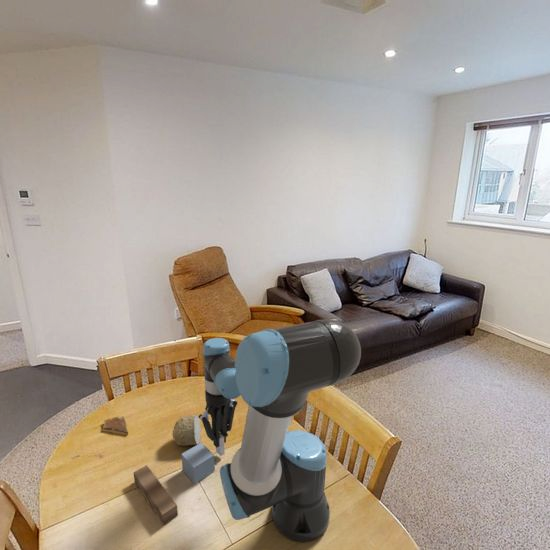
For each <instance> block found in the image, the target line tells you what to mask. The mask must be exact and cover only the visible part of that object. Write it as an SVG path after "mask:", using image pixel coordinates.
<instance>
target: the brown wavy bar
mask: <svg viewBox="0 0 550 550" xmlns="http://www.w3.org/2000/svg"><path fill="white" fill-rule="evenodd" d="M133 480H134V484H135V485H136V486H137V488H138V490H139V491H140V492H141V494H142V495H143V496H144V498H145V500H146V501H147V503H148V505H149V506H150V507H151V508H152V510H153V512H154V513H155V515H156V516H157V518H158V519H159V521H160V522H161V523H162V525H163V526H165V525H166V524H167V523H169V522H171V521H172V520H174V519H175V518H176V517H178V515H179V513H178V512H179V511H178V505H177V503H176V502H175V500H174V499H173V498H172V497H171V495H170V493H168V491H167V490H166V488H165V487H164V486H163V484H161V482H160V481H159V479H158V478H157V476H156V475H155V473H154V472H153V471H152V469H150V468H149V465H147V464H146V465H144V466H143V467H140V468H139V469H136V470H135V471H134V472H133Z"/></svg>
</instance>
